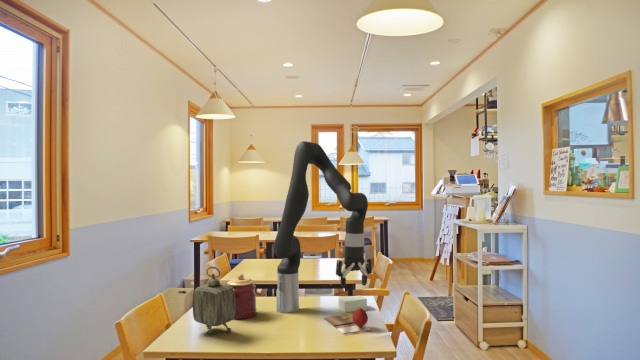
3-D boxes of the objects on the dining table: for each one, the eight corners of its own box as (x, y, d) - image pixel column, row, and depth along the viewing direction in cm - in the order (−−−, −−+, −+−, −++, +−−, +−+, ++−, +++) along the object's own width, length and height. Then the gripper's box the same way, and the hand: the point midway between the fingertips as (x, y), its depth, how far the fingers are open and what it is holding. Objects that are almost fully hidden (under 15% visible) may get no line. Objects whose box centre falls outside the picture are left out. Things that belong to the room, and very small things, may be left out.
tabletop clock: (235, 331, 166) (234, 266, 166) (219, 339, 158) (218, 271, 158) (208, 325, 173) (207, 263, 173) (190, 332, 166) (189, 267, 166)
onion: (358, 324, 169) (358, 303, 169) (370, 327, 165) (370, 306, 165) (349, 328, 164) (349, 307, 164) (362, 331, 161) (362, 309, 161)
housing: (344, 314, 185) (344, 301, 185) (339, 310, 191) (338, 298, 191) (366, 311, 189) (366, 298, 189) (360, 307, 194) (360, 295, 194)
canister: (253, 319, 180) (252, 277, 180) (222, 319, 180) (221, 277, 180) (258, 310, 193) (258, 270, 193) (229, 310, 193) (229, 270, 193)
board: (345, 338, 158) (345, 334, 158) (322, 320, 178) (322, 316, 178) (372, 333, 162) (372, 330, 162) (347, 316, 182) (347, 313, 182)
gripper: (366, 242, 174) (365, 282, 175) (333, 243, 169) (333, 285, 170) (375, 245, 167) (374, 286, 168) (341, 246, 162) (340, 290, 163)
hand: (353, 285), depth 169 cm, fingers open, 8 cm apart
